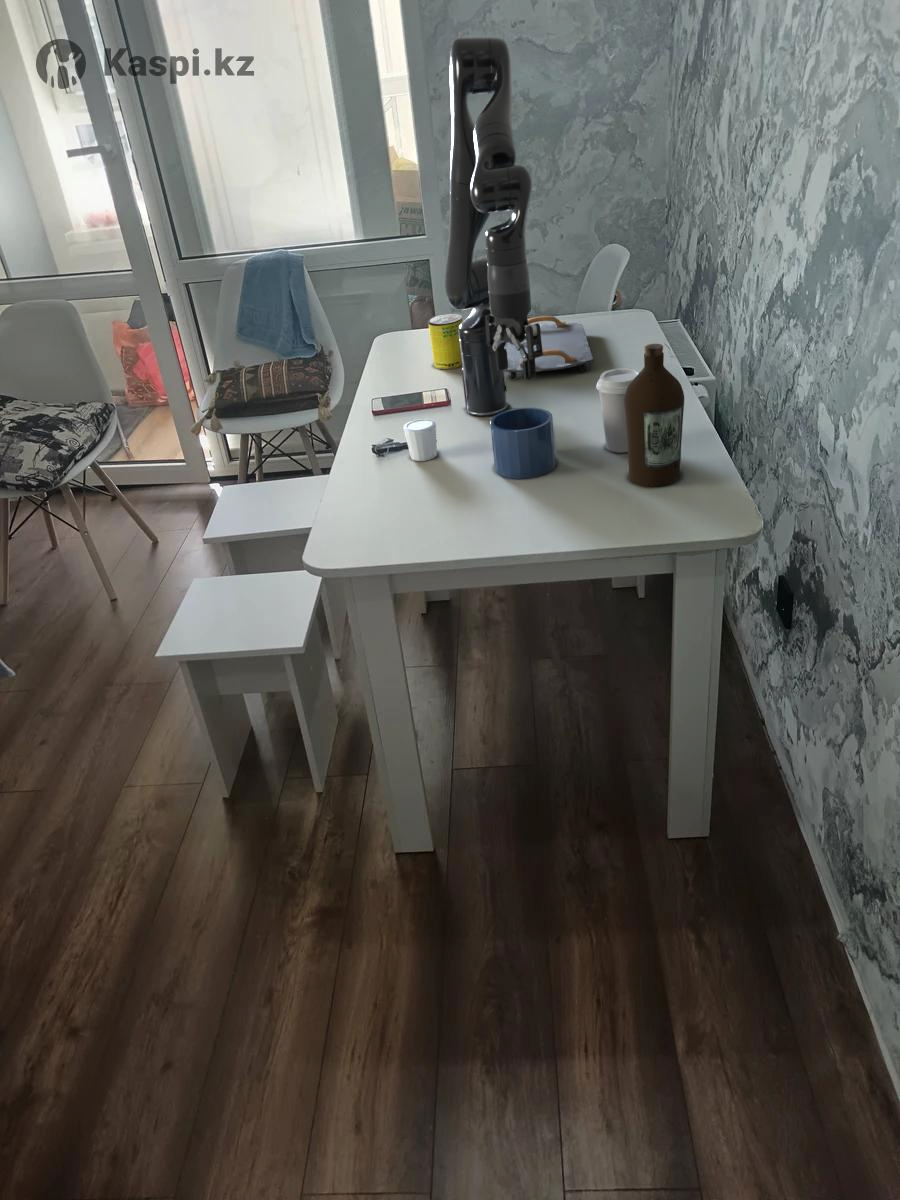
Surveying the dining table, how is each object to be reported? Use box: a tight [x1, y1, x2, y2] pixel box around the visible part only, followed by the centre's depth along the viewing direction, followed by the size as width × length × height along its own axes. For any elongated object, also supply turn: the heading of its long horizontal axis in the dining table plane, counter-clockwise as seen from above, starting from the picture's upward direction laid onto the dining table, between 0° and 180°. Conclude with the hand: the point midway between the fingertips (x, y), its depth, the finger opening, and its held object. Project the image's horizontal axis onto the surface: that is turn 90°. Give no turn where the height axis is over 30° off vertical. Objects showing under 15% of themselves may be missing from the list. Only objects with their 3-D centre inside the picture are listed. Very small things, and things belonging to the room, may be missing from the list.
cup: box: [489, 407, 556, 480], centre depth 181 cm, size 12×12×10 cm
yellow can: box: [427, 313, 463, 370], centre depth 243 cm, size 9×9×12 cm
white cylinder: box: [403, 418, 438, 462], centre depth 193 cm, size 7×7×7 cm
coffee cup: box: [595, 367, 641, 454], centre depth 182 cm, size 10×10×15 cm
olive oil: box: [624, 343, 685, 488], centre depth 166 cm, size 11×11×25 cm
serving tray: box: [504, 315, 594, 381], centre depth 240 cm, size 39×23×6 cm, turn 178°
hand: (515, 373), depth 174 cm, fingers open, 8 cm apart
